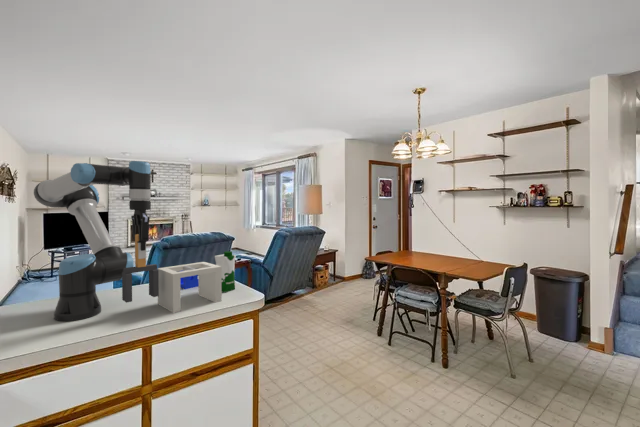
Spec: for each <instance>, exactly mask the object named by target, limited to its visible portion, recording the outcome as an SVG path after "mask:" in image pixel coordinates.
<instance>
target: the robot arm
mask: <svg viewBox="0 0 640 427" xmlns="http://www.w3.org/2000/svg"><path fill="white" fill-rule="evenodd" d="M151 173H152V171H151V164H150V163H149V162H148V161H142V160H131V161H130V162H129V163H128V166H114V165H113V166H112V165H103V164H94V163H88V162H76V163H74V164H73V165H72V167H70V172H67V173H65V174H63V175H61V176H58V177H56V178H54V179H45V180H43V181H40V182H39V183H38V184H36V185H35V187H34V189H33V196H34V198H35V199H36V201H37V202H38V203H40V204H41V205H43V206H45V207H49V208H53V209H54V208H58V209H61V208H65V209H67V212H68V213H69V214H70V215H72V216H74V217H75V219H76V221H77V223H78V225H79V227H80V230H81V231H82V234H83V236H84V238H85V240H86V242H87V243H88V245H89V247H90V250H91V252H92V253H87V254H86V253H85V254H78V255H73V256H69V257H66V258H64V259H62V260H61V261H60V262H59V265H58V271H57V273H58V287H59V289H58V290H59V291H58V292H59V298H58V300H57V304H56V306H55V309H54V311H53V319H54V320H55V321H58V322H72V321H79V320H83V319H84V320H85V319H89V318H92V317H95V316H97V315H98V314H100V313H101V312H102V305H101V302H100V300H99V297H98V295H97V291H96V287H97V286H99V285H103V284H108V283H113V282H118V281H122V273H123V268H129V267H135V264H134V263H135V261H134V258H133V256H132V254H131V253H130V252H126V251H125V252H123V249H122V248H121V247H120V246H118V245H115V243H114V241H113V239H112V237H111V235H110V233H109V231H108V230H107V228H106V225H105V223H104V222H103V220H102V218H101V216H100V214H99V212H98V210H97V207H98V204H99V203H100V196H99V195H100V194H99V192H98V189H97V187H96V186H94V185H104V186H105V185H106V186H107V185H109V186H113V185H114V186H119V187H121V186H129V188H128V199H129V201H128V203H129V207H128V208H129V210H130V211H134V213H133V215H131V227H132V228H131V230H132V233H131V234H132V240H134V242H135V235H136V234H139V241H137V243H138V259H143V258H146V259H147V242H149V238H150V237H149V233H150V232H149V230H150V219H151V217H150V216H148V214H147V211H149V210H151V206H152V203H151V201H150V200H151V195H152V192H151V188H152V187H151V186H152V185H151V184H152V183H151V182H152V181H151V179H152V177H151V176H152V174H151Z"/></svg>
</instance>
